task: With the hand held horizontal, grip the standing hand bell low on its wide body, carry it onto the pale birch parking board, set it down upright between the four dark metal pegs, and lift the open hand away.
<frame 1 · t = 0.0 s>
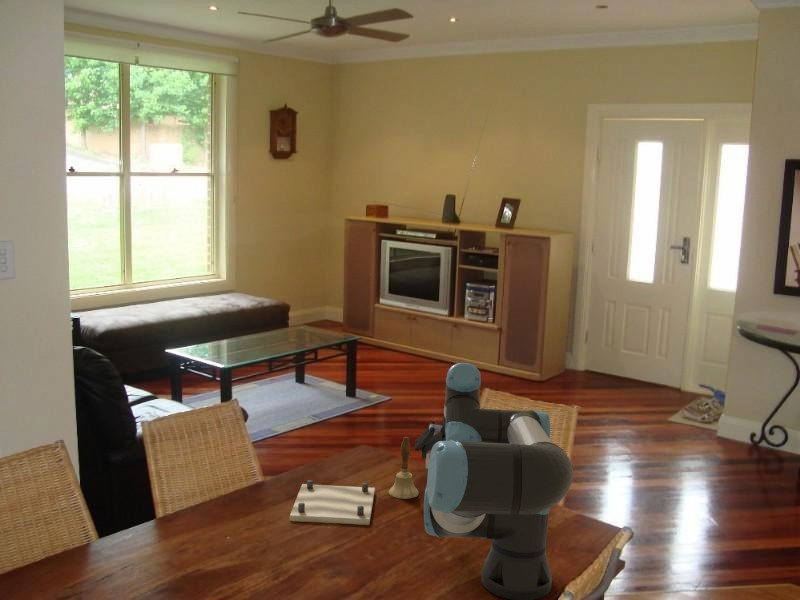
hand: (454, 465, 204), 15 cm above the table, tool tilted 35°, fingers open, 13 cm apart
parking board: (334, 506, 213), on the table
hand bell: (403, 493, 224), on the table
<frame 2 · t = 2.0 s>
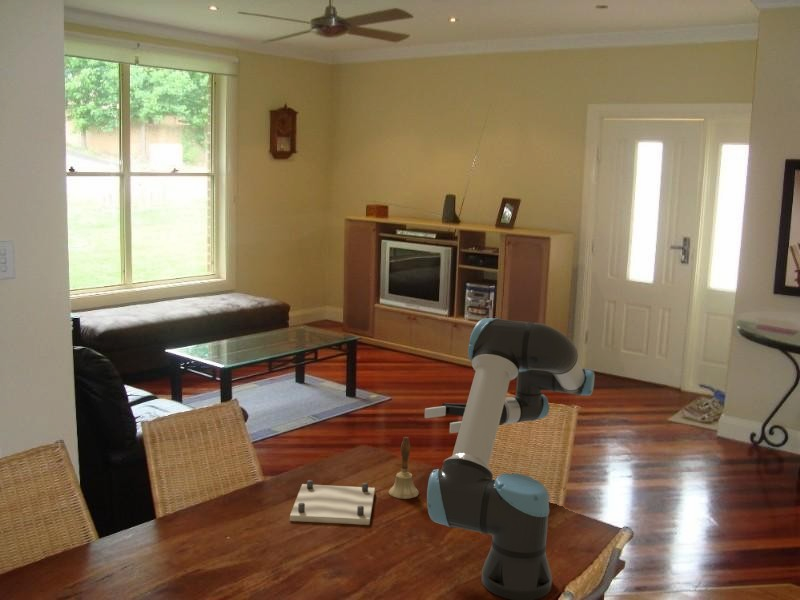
hand: (437, 420, 225), 20 cm above the table, tool horizontal, fingers open, 13 cm apart
nothing on the table moved.
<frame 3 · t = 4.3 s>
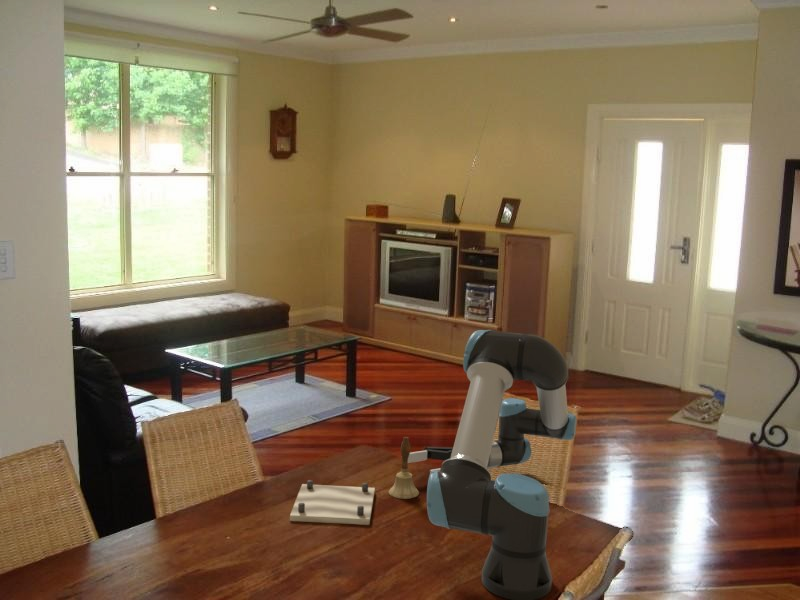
hand: (418, 466, 225), 7 cm above the table, tool horizontal, fingers open, 13 cm apart
nothing on the table moved.
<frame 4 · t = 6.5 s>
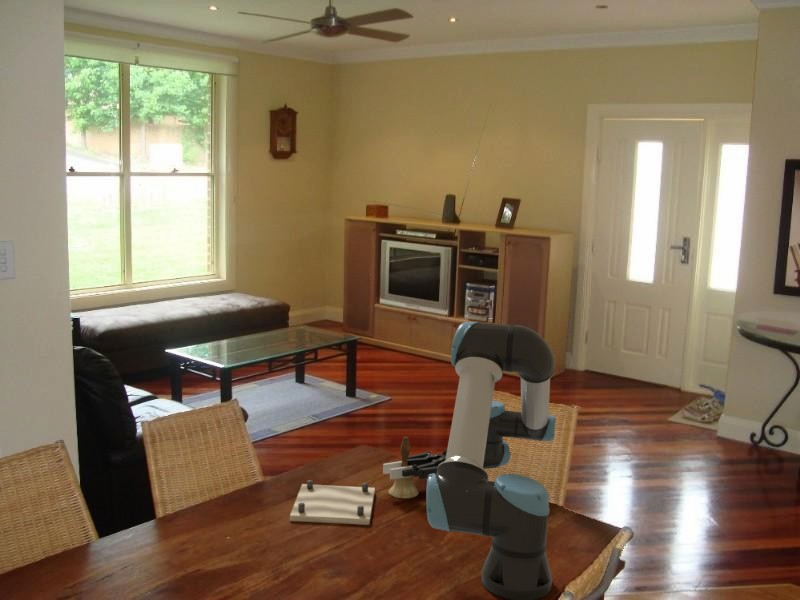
hand: (387, 471, 220), 7 cm above the table, tool horizontal, fingers closed on hand bell, 3 cm apart
hand bell: (403, 493, 224), on the table, touching gripper
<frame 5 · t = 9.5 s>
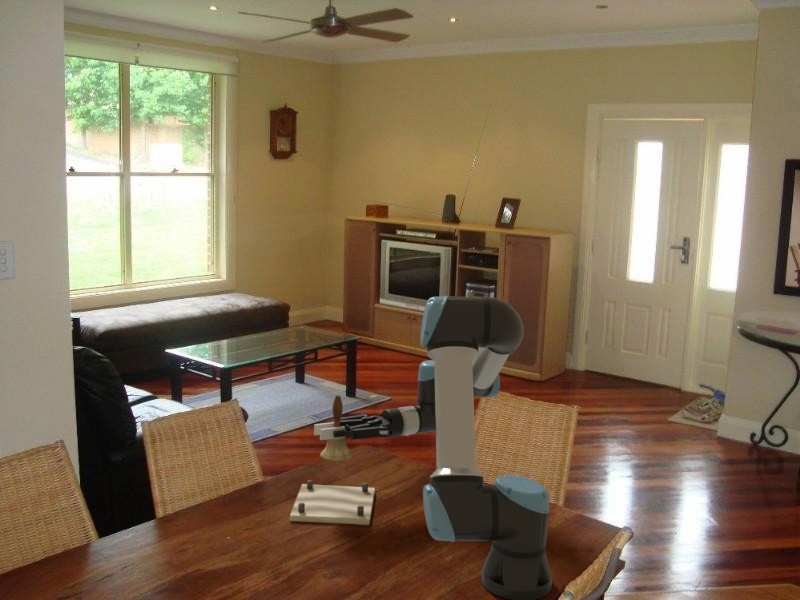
hand: (317, 432, 208), 21 cm above the table, tool horizontal, fingers closed on hand bell, 3 cm apart
hand bell: (336, 456, 211), point 14 cm above the table, touching gripper
when the fingers open (9 cm above the table, at t = 12.6 s): hand bell stays where it is, resting on parking board.
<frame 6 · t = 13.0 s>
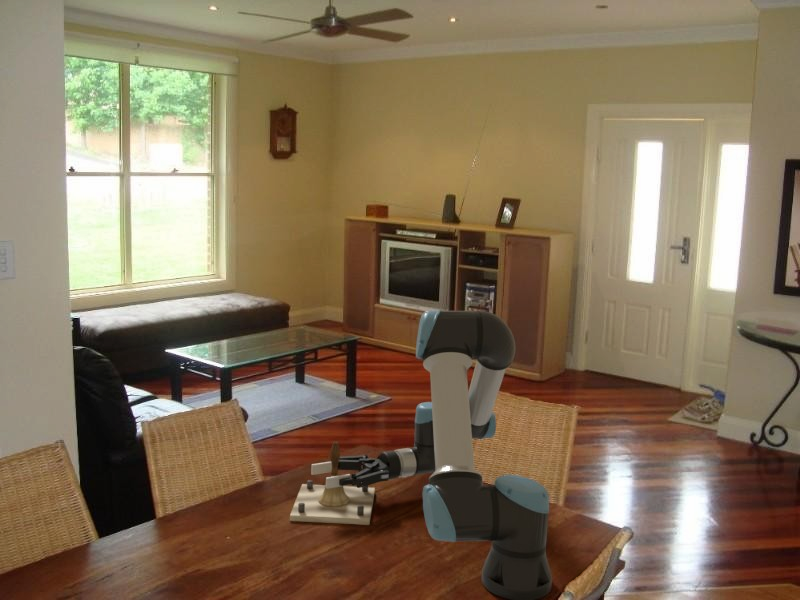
hand: (318, 476, 210), 9 cm above the table, tool horizontal, fingers open, 9 cm apart
hand bell: (333, 501, 213), point 1 cm above the table, touching parking board
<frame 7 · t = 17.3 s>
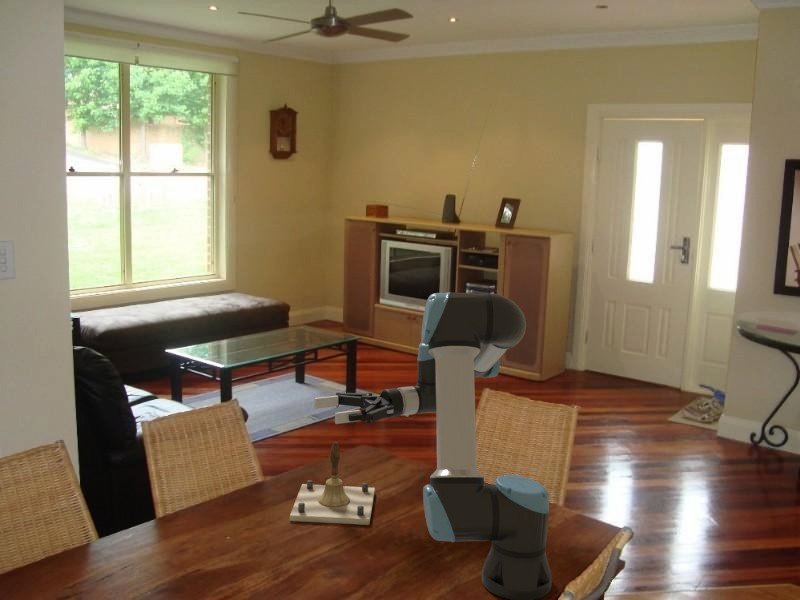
hand: (324, 410, 207), 26 cm above the table, tool horizontal, fingers open, 13 cm apart
nothing on the table moved.
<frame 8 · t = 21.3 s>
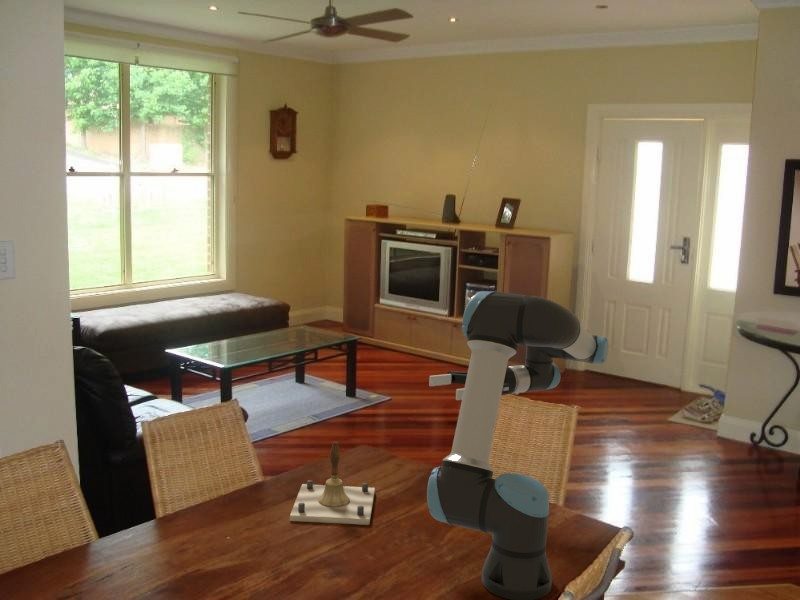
hand: (442, 387, 212), 32 cm above the table, tool horizontal, fingers open, 13 cm apart
nothing on the table moved.
at the end: hand bell inside the target area on the parking board (0.1 cm from its centre), point 1.3 cm above the parking board's base; hand bell tilted 0°; the gripper is holding nothing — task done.
